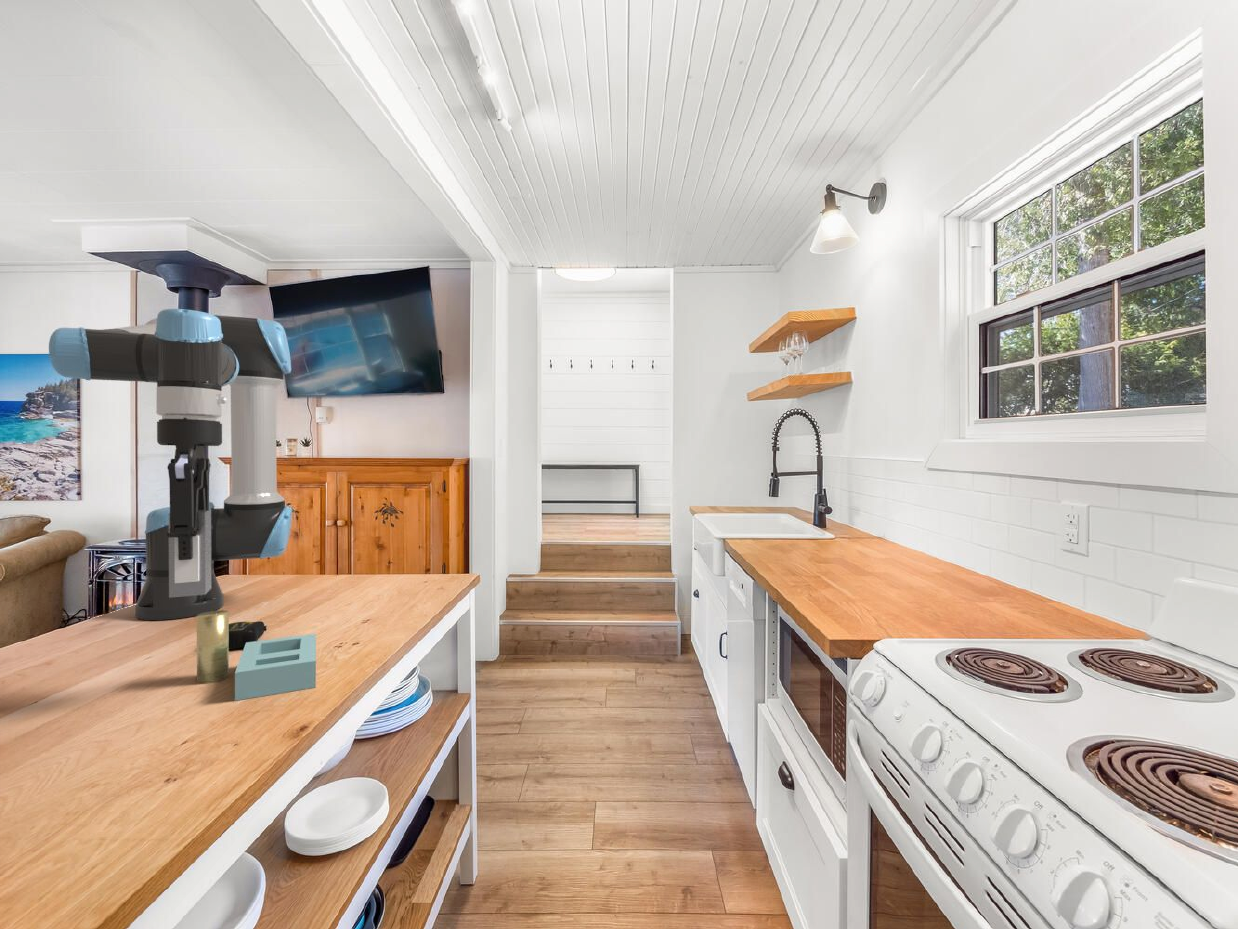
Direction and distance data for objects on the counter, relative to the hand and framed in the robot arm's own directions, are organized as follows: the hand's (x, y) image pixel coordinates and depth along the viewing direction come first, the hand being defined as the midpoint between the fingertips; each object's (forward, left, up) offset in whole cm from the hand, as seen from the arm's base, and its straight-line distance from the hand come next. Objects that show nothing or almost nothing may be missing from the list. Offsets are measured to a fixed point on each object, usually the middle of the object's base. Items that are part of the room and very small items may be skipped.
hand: (191, 577), depth 82 cm
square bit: (0, 0, -2) cm, 2 cm away
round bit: (-4, +2, -17) cm, 17 cm away
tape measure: (-20, +5, -17) cm, 26 cm away
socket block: (0, +11, -17) cm, 20 cm away
